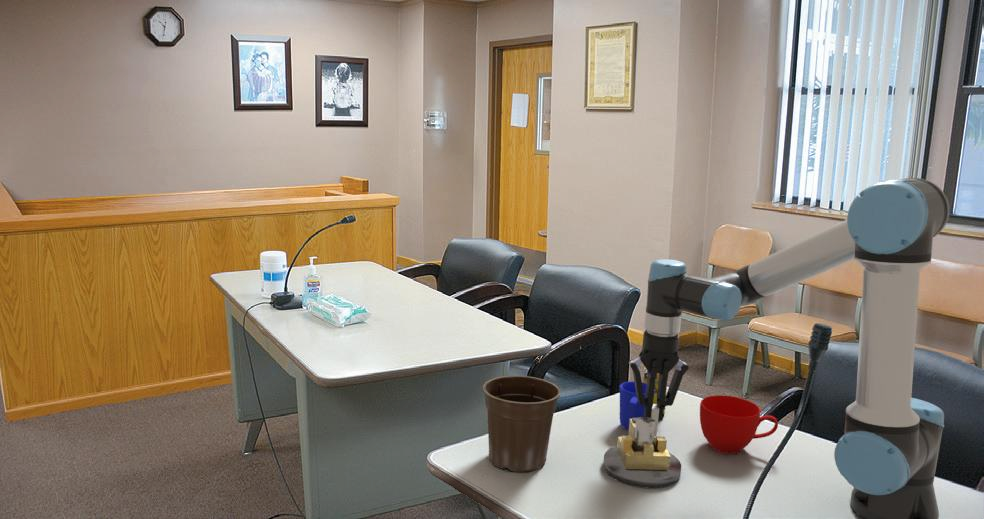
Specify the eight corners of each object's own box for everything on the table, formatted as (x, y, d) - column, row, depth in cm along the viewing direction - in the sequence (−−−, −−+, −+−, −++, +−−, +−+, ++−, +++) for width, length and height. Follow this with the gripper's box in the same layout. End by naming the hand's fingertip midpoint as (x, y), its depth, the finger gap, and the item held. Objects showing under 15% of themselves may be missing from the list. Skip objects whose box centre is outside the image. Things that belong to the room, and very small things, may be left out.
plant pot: (527, 437, 177) (531, 370, 174) (571, 466, 164) (576, 394, 161) (465, 452, 169) (468, 381, 165) (507, 484, 155) (511, 408, 152)
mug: (611, 437, 179) (615, 396, 177) (619, 418, 191) (622, 379, 189) (648, 443, 177) (651, 401, 175) (653, 423, 188) (656, 384, 186)
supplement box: (664, 417, 192) (668, 375, 190) (640, 414, 194) (643, 372, 191) (664, 408, 198) (668, 367, 196) (640, 405, 199) (643, 364, 197)
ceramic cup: (776, 467, 168) (781, 423, 166) (695, 454, 172) (699, 412, 170) (772, 442, 180) (777, 402, 178) (697, 431, 184) (701, 391, 182)
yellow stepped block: (669, 469, 159) (671, 445, 158) (625, 468, 159) (627, 444, 158) (652, 440, 173) (654, 417, 172) (612, 439, 173) (614, 416, 172)
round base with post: (693, 468, 165) (697, 420, 163) (659, 496, 153) (664, 444, 151) (626, 446, 175) (629, 399, 173) (589, 470, 163) (592, 421, 160)
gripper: (686, 327, 171) (676, 427, 176) (627, 325, 170) (619, 426, 175) (696, 338, 164) (685, 442, 168) (635, 335, 163) (625, 440, 168)
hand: (651, 434), depth 172 cm, fingers closed
